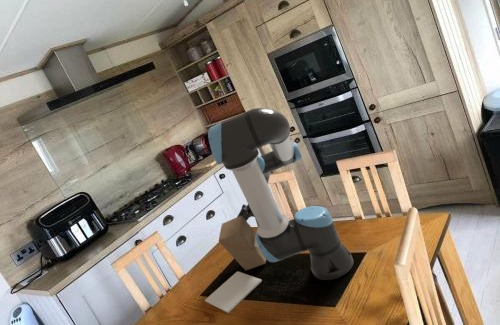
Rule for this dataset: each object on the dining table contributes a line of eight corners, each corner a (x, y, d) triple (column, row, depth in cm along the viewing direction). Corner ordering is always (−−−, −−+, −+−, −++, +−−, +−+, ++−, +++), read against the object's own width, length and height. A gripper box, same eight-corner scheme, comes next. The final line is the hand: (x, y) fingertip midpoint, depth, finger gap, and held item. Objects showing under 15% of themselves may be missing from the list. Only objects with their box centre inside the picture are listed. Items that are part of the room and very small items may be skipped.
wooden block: (266, 263, 151) (239, 232, 142) (245, 271, 154) (217, 241, 145) (267, 245, 159) (241, 214, 150) (247, 252, 162) (221, 223, 154)
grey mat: (262, 280, 143) (261, 279, 143) (228, 313, 133) (227, 311, 133) (237, 272, 156) (237, 271, 155) (205, 301, 146) (204, 300, 146)
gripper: (283, 197, 150) (272, 250, 145) (245, 196, 170) (235, 242, 165) (269, 193, 146) (258, 247, 141) (232, 192, 166) (222, 239, 161)
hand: (246, 245), depth 153 cm, fingers closed on wooden block, 13 cm apart
